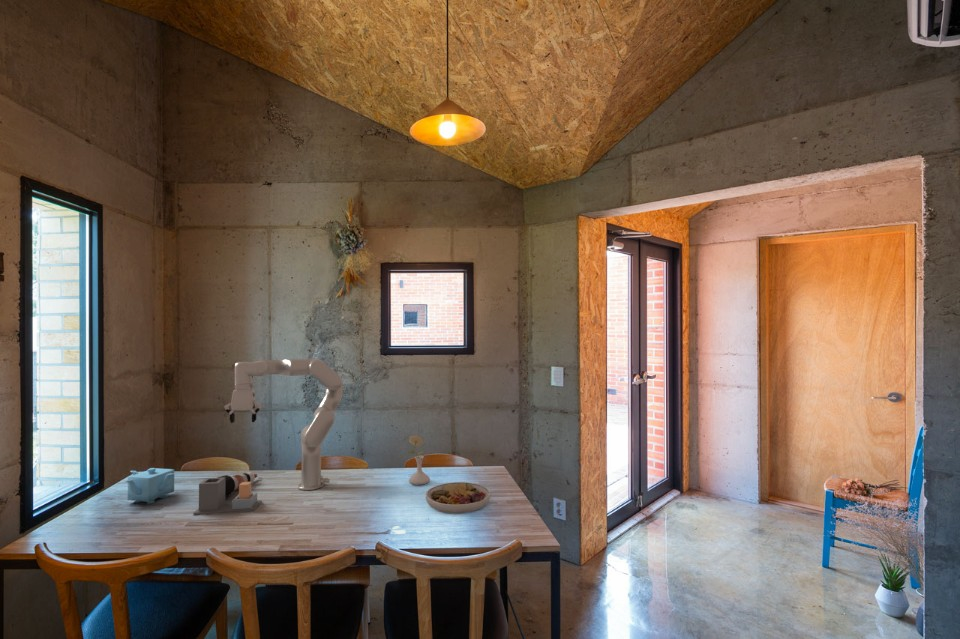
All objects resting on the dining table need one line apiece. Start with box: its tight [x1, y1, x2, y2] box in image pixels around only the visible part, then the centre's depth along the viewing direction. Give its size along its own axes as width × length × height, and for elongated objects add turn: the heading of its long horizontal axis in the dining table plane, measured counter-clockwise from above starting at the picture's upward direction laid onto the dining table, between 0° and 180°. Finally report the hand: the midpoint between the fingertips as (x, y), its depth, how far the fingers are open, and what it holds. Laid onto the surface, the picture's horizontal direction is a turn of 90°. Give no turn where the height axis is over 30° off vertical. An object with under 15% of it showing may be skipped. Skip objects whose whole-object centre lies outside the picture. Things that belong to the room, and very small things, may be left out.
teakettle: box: [124, 467, 175, 505], centre depth 220 cm, size 19×19×15 cm
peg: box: [238, 482, 252, 499], centre depth 209 cm, size 4×4×10 cm
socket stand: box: [192, 477, 263, 516], centre depth 208 cm, size 25×11×13 cm, turn 99°
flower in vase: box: [408, 434, 431, 486], centre depth 242 cm, size 13×11×25 cm
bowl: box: [425, 481, 491, 515], centre depth 213 cm, size 30×30×8 cm
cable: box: [216, 471, 258, 498], centre depth 231 cm, size 10×34×10 cm, turn 172°
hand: (243, 422), depth 224 cm, fingers open, 9 cm apart
